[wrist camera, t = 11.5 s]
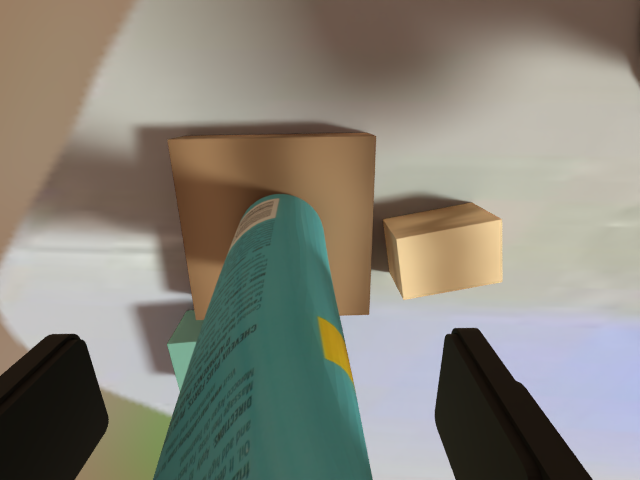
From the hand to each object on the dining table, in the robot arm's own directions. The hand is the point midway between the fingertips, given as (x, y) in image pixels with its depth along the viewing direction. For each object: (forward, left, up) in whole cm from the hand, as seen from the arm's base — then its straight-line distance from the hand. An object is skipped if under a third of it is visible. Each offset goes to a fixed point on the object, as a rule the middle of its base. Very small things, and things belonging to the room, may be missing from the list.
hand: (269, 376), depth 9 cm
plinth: (+1, 0, -15) cm, 15 cm away
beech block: (-9, +2, -15) cm, 18 cm away
